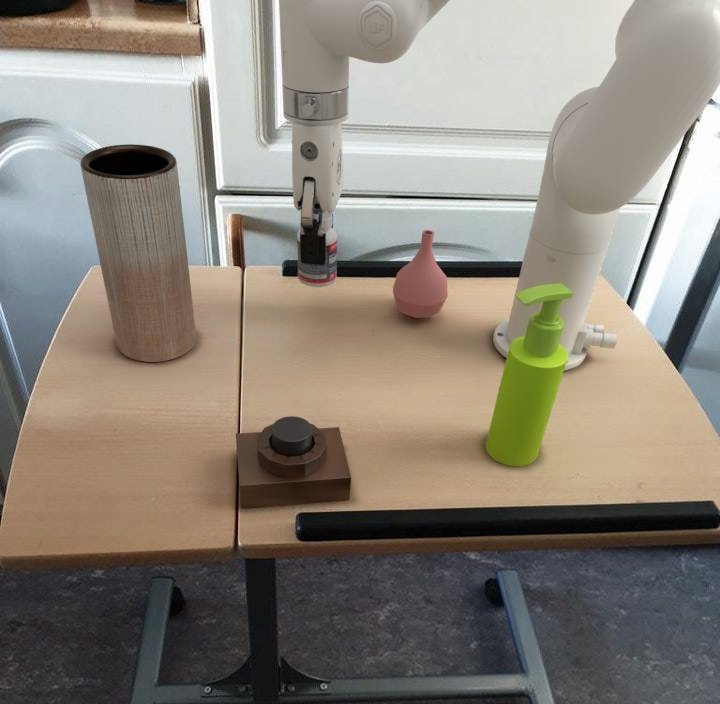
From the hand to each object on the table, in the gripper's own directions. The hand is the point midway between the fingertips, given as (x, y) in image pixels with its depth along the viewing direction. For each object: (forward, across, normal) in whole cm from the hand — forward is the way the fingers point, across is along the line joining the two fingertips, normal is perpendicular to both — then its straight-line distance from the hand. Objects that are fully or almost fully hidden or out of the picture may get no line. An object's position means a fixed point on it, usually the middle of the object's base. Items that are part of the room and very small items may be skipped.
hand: (317, 251), depth 93 cm
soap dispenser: (+10, -25, -26) cm, 37 cm away
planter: (+9, -12, +19) cm, 24 cm away
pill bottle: (+4, 0, 0) cm, 4 cm away
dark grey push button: (+5, -34, -3) cm, 34 cm away
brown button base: (+9, -34, -3) cm, 35 cm away
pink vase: (+10, +3, -14) cm, 17 cm away
